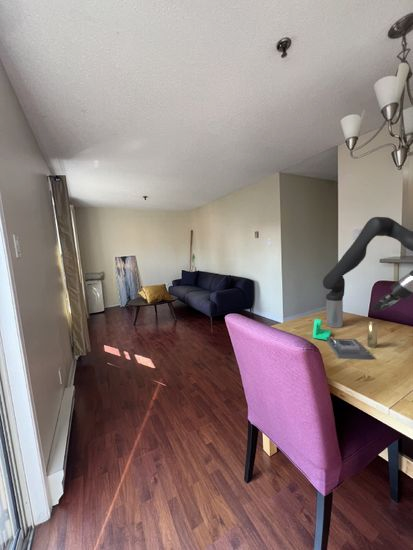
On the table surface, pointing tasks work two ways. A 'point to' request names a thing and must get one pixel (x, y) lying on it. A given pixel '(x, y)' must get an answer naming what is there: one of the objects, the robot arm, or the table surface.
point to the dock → (348, 349)
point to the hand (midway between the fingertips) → (376, 309)
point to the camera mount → (320, 330)
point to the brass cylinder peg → (372, 334)
